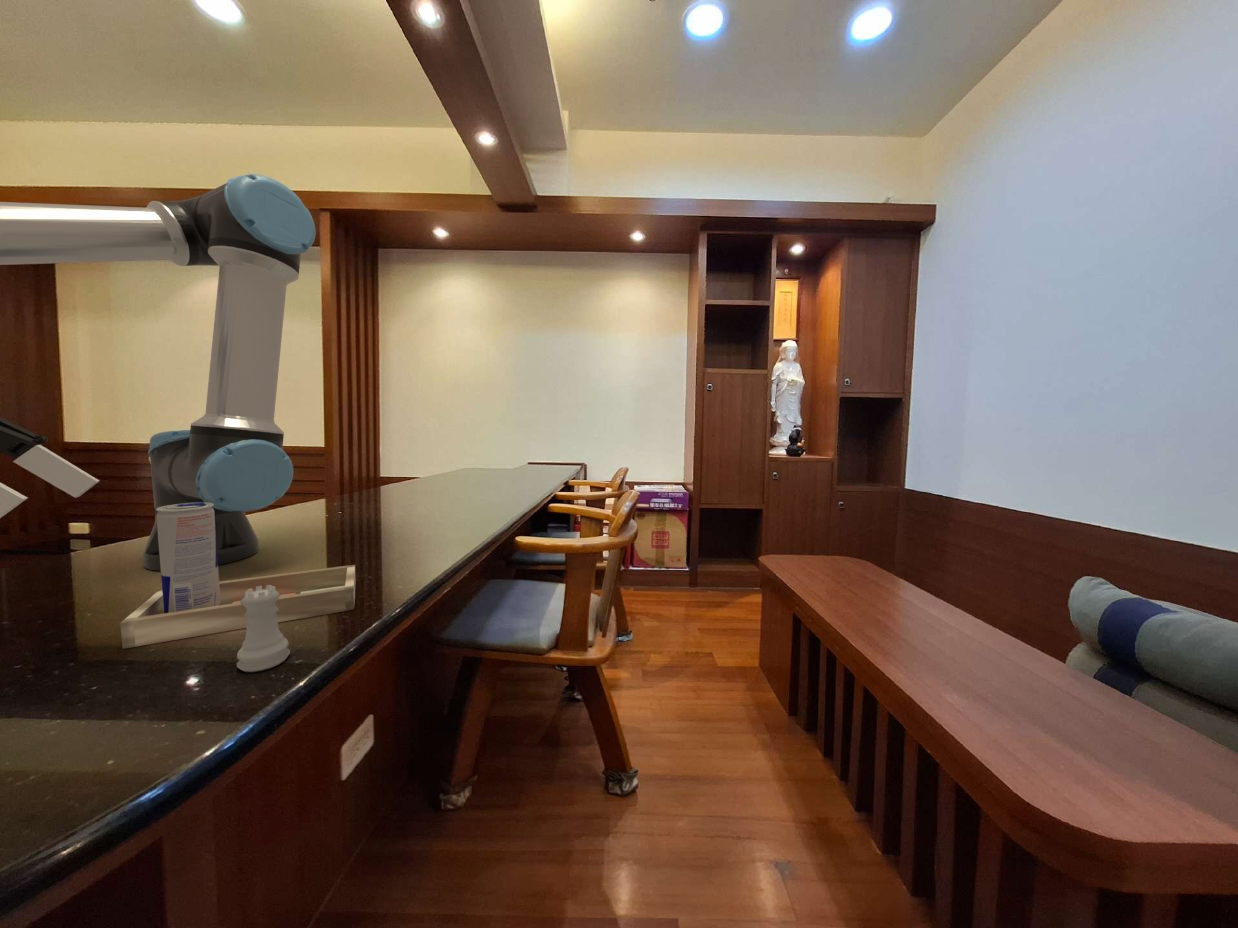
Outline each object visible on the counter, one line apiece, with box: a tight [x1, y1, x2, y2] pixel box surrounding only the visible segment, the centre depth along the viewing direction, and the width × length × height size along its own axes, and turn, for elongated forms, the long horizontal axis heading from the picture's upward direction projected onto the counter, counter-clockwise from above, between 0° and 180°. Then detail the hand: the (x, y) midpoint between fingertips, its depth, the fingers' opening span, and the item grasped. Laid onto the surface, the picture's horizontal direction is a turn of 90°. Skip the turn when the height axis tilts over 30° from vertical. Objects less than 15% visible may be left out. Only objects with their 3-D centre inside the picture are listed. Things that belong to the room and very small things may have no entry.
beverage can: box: [156, 503, 221, 613], centre depth 54 cm, size 5×5×15 cm
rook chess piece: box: [236, 585, 291, 673], centre depth 46 cm, size 4×4×8 cm
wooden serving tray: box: [120, 564, 357, 650], centre depth 58 cm, size 11×22×3 cm, turn 120°
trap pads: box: [231, 593, 296, 604], centre depth 58 cm, size 8×7×1 cm
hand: (54, 498), depth 48 cm, fingers open, 13 cm apart
